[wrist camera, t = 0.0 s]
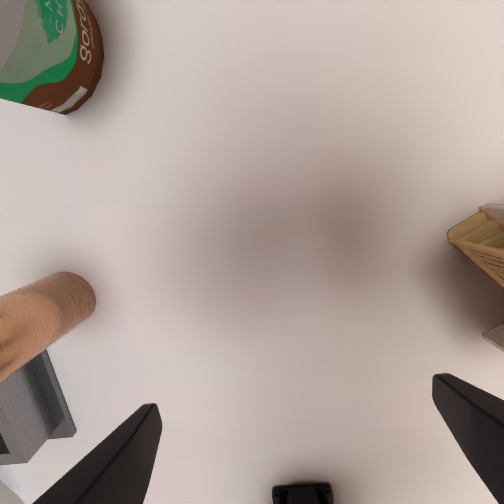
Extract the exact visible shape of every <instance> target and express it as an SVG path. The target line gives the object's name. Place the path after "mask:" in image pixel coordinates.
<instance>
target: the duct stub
mask: <svg viewBox="0 0 504 504" xmlns="http://www.w3.org/2000/svg"><path fill="white" fill-rule="evenodd" d="M75 433H76V429H75V427H74V424H73V421H72V419H71V416H70V413H69V411H68V408H67V405H66V403H65V400H64V397H63V395H62V392H61V389H60V387H59V384H58V381H57V379H56V376H55V373H54V371H53V368H52V365H51V362H50V360H49V357H48V354H47V352H46V349H45V350H44V351H42V352H41V353H40V354H38V355H37V356H36V357H34V358H33V359H32V360H30V361H29V362H28V363H26V364H25V365H24V366H22V367H21V368H20V369H18V370H17V371H15V372H14V373H13V374H11V375H10V376H9V377H7V378H6V379H5V380H3V381H2V382H1V383H0V465H9V464H20V463H27V462H28V461H29V460H30V459H31V458H32V457H33V455H34V454H35V453H36V452H37V451H38V450H39V448H40V447H41V446H42V445H43V444H44V443H45V441H46V440H47V439H56V438H67V437H73V436H74V434H75Z"/></svg>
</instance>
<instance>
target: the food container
mask: <svg viewBox="0 0 504 504" xmlns="http://www.w3.org/2000/svg"><path fill="white" fill-rule="evenodd" d="M103 60H104V51H103V42H102V36H101V33H100V29H99V26H98V24H97V21H96V19H95V17H94V15H93V13H92V11H91V10H90V8H89V6H88V5H87V4H86V2H85V1H84V0H0V98H1V99H5V100H9V101H13V102H17V103H21V104H25V105H29V106H32V107H36V108H40V109H44V110H48V111H52V112H56V113H60V114H64V115H66V114H68V113H70V112H73V111H75V110H77V109H78V108H79V107H81V106H82V105H83V104H84V103H85V102H86V101H87V100H88V99H89V98H90V97H91V96H92V94H93V92H94V90H95V88H96V86H97V84H98V82H99V80H100V78H101V73H102V67H103Z"/></svg>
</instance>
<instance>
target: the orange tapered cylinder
mask: <svg viewBox="0 0 504 504" xmlns="http://www.w3.org/2000/svg"><path fill="white" fill-rule="evenodd" d="M95 302H96V301H95V295H94V292H93V290H92V288H91V287H90V285H89V284H88V283H87V282H86V281H85V280H84V279H83V278H81V277H79V276H78V275H75V274H73V273H68V272H60V273H56V274H53V275H51V276H48V277H46V278H43V279H41V280H39V281H36V282H34V283H31V284H29V285H26V286H24V287H21V288H19V289H17V290H14V291H12V292H9V293H7V294H4V295H2V296H0V383H1V382H2V381H3V380H5V379H6V378H7V377H9V376H10V375H11V374H13V373H14V372H15V371H17V370H18V369H20V368H21V367H22V366H24V365H25V364H26V363H28V362H29V361H30V360H32V359H33V358H34V357H36V356H37V355H38V354H40V353H41V352H42V351H44V350H45V349H46V348H48V347H49V346H50V345H52V344H53V343H54V342H56V341H57V340H59V339H60V338H61V337H63V336H64V335H65V334H67V333H68V332H69V331H71V330H72V329H73V328H75V327H76V326H77V325H79V324H80V323H81V322H83V321H84V320H85V319H87V318H88V317H89V316H90V315H91V314H92V313H93V311H94V308H95Z"/></svg>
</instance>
